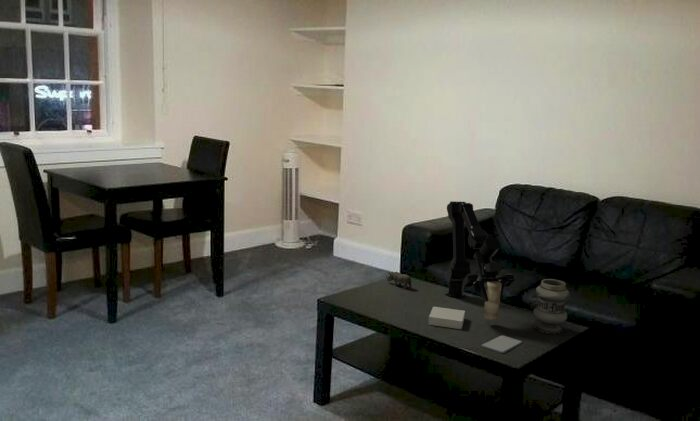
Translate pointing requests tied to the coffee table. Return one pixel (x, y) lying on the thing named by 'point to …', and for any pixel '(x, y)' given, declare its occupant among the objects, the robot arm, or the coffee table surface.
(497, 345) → the smartphone
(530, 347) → the coffee table surface
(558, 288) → the apothecary jar
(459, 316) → the cream plinth
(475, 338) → the coffee table surface
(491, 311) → the birch pillar
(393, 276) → the rhino figurine
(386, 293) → the coffee table surface
